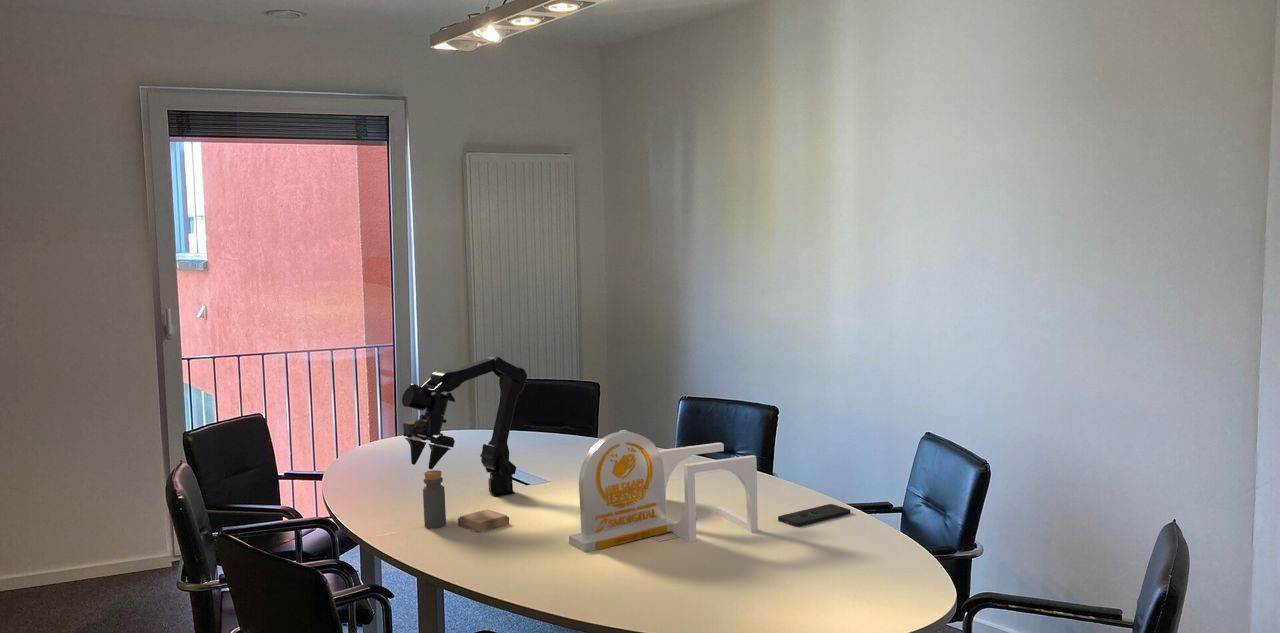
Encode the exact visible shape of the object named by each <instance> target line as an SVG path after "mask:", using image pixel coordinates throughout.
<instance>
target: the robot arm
mask: <svg viewBox="0 0 1280 633" xmlns="http://www.w3.org/2000/svg"><path fill="white" fill-rule="evenodd" d="M489 373H493V374H494V375H495V376H496V377H498V378H499V380H498V381H499V382H498V385H499V389H500V399H499V403H498V407H497V408H498V409H497V412H496V415H495V421H494V427H493V430H492V435H491V439H490V441H489V442H488V443H483V445H482V449H481V453H480V456H479V457H480V459H481V460H480V461H481V464H482V466H483V467H484V468H485V470H486V473H489V478H488V480H487V482H488V493H490V494H491V495H492V496H494V497H498V496H506V495H512V494H515V491H514V486H513V483H514V482H513V475H515V474H516V470H517V466H516V465H515V464H513V463H512V462H511V461H510V449H509V445H508V440H509V436H510V431H511V425H512V422H513V418H514V412H515V408H516V402H517V399H518V396H519V395H520V394H521V393H522V391H524V388H525V385H526V382H527V380H528V379H527V378H528V374H527V372H526V370H525V369H524V368H523V367H518V366H515V365H513V364H512V363H509V362H508V361H505V360H504V359H502V358H501V357H500V356H492V355H491V356H488V357H486V358H483V359H480V360H477V361H475V362H473V363H470V364H466V365H464V366H461V367H458V368H454V369H452V368H451V369H442V370H441V369H440V370H435V371H434V372H432V373H431V376H430V378H429V379H427V381H426V382H424V383H423V384H422V385H418V384H415V383H410V384H409V386H408V387H407V388H406V389H405V391H404V393H402V396H401V403H402V406H403V407H405V408H408V409H409V408H410V409H414V410H418V411H420V412H421V411H424V414H420V416H419V419H413V420H408V421H406V420H405V421H403V422H402V426H403V427H402V428H403V429H402V430H403V436H402V437H405V438H404V440H406V441H407V443H408V444H409V446H410V447H409V448H410V458H411V459H410V461H411V462H410V463H411V465H414V466H415V465H416V464H417V462H418V460H419V459H420V457H421V455H422V453H423V451H424V449H425V446H426V445H427V444H428V447H429V448H430V456H429V460H428V470H433V469H434V467H435V466H436V465H437V464H438V463H439V462H440V460H441V459H442V458H443V457H444V455H446V453H447V452H448V451H450V450H451V448H454V447H455V439H454V438H455V437H452V436H447V435H444V433H443V432H442V433H441V431H442V427H443V424H447V419H445V416H446V412H447V408H448V403H449V402H453V403H455V402H456V399H455V398H454V396H453V393H451V392H453V391H454V390H456V389H458V388H460V386H461V385H462V384H463V383H465V382H467V381H470V380H472V379H475V378H478V377H481V376H483V375H486V374H489ZM444 392H445V393H444ZM433 393H434V394H433ZM425 441H429V442H430V443H427V442H425Z"/></svg>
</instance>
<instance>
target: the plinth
mask: <svg viewBox="0 0 1280 633" xmlns="http://www.w3.org/2000/svg"><path fill="white" fill-rule="evenodd" d="M458 525H459V527H461V526H462V528H464V527H465V529H467V528H468V530H470V529H471V531H473V530H474V531H473V532H475V533H476V532H477V533H482V532H487V531H491V530H493V529H497V528H500V527H505V526H507V525H510V516H508V515H507V514H504V513H500V512H497V511H494V510H491V509H489V508H486V509H482V510H479V511H475V512H471V513H468V514H464V515H460V516H459V517H458V518H457V526H458Z"/></svg>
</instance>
